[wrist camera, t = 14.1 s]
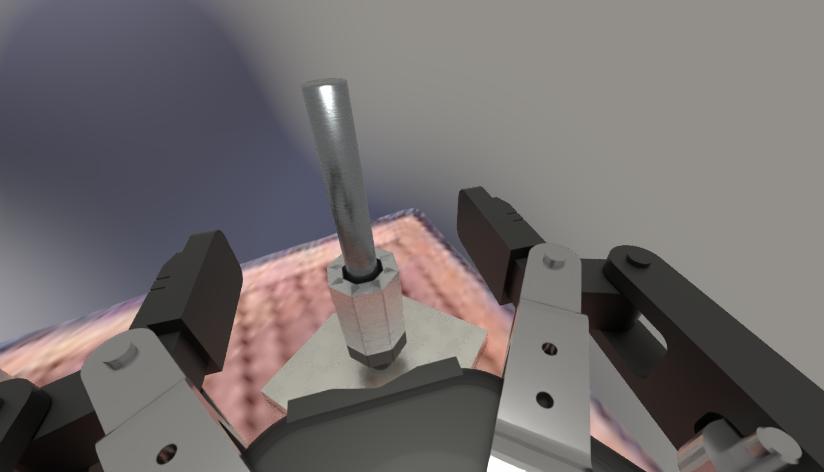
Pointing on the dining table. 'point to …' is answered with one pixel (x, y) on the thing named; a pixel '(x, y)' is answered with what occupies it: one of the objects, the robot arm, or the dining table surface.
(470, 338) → the pipe stand
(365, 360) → the black hex nut
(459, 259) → the dining table surface
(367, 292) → the metal sleeve
